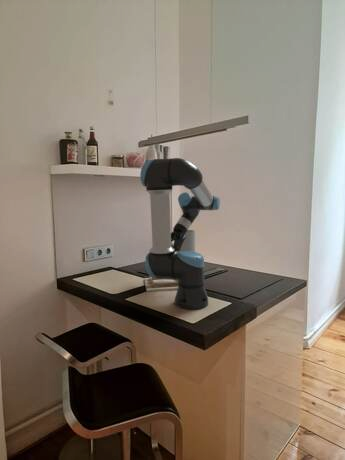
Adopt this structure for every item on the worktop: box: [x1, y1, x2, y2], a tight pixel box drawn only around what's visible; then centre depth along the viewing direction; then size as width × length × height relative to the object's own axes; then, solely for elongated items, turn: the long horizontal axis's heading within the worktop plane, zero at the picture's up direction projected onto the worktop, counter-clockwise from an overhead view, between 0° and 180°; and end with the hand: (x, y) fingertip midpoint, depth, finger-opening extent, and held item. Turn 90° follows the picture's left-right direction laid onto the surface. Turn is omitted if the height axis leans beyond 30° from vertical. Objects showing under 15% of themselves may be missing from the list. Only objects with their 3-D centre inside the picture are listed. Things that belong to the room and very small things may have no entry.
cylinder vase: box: [175, 229, 196, 254], centre depth 205 cm, size 12×12×25 cm
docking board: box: [143, 276, 178, 293], centre depth 170 cm, size 22×22×3 cm
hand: (160, 258), depth 167 cm, fingers closed on disposable coffee cup, 9 cm apart
